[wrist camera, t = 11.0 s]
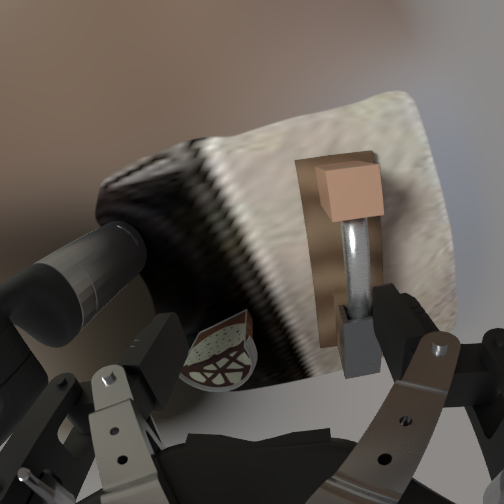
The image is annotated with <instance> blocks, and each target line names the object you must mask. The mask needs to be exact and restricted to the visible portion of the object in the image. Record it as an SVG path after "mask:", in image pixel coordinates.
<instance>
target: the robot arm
mask: <svg viewBox="0 0 504 504" xmlns="http://www.w3.org/2000/svg"><path fill="white" fill-rule="evenodd" d="M146 259H147V251H146V246H145V243H144V240H143V238H142V237H141V235H140V234H139V232H138V231H137V230H136V229H135V228H134V227H132V226H131V225H129V224H127V223H125V222H121V221H114V222H110V223H108V224H106V225H104V226H102V227H100V228H98V229H96V230H94V231H92V232H90V233H88V234H86V235H85V236H82V237H80V238H79V239H77V240H75V241H73V242H71V243H69V244H68V245H66V246H64V247H62V248H60V249H59V250H57V251H55V252H53V253H51V254H50V255H48V256H47V257H45V258H43V259H41V260H40V261H38V262H36V263H35V264H33V265H31V266H30V267H28V268H26V269H25V270H23V271H22V272H20V273H19V274H17V275H15V276H14V277H12V278H11V279H9V280H7V281H6V282H4V283H3V284H1V285H0V446H1V445H2V444H3V443H4V442H5V441H6V440H7V438H8V437H9V436H10V435H11V434H12V433H13V434H12V435H11V437H10V438H9V440H8V441H7V443H6V444H5V446H4V447H3V449H2V450H1V452H0V504H455V503H453V502H452V501H450V500H448V499H446V498H445V497H443V496H441V495H440V494H438V493H436V492H435V491H433V490H431V489H430V488H428V487H427V486H425V485H423V484H422V483H420V482H418V481H417V480H416V479H414V478H412V477H413V475H414V473H415V471H416V469H417V467H418V465H419V463H420V461H421V459H422V457H423V455H424V452H425V450H426V448H427V446H428V444H429V441H430V439H431V436H432V434H433V432H434V429H435V427H436V424H437V422H438V419H439V417H440V414H441V411H442V409H443V408H444V407H462V406H464V407H465V409H466V411H467V414H468V416H469V418H470V421H471V423H472V426H473V429H474V431H475V434H476V436H477V439H478V442H479V444H480V447H481V450H482V453H483V456H484V459H485V461H486V465H487V468H488V471H489V474H490V477H491V481H492V482H491V483H490V484H489V485H488V487H487V488H486V490H485V493H484V496H483V504H504V329H502V328H495V329H491V330H489V331H487V332H486V333H485V334H484V336H483V340H482V343H476V344H460V341H459V340H458V338H457V337H456V336H454V335H452V334H451V333H448V332H443V331H439V329H438V328H437V327H436V325H435V324H434V323H433V321H432V320H431V318H430V317H429V316H428V314H427V313H425V310H424V309H423V308H422V307H421V305H420V304H419V302H418V301H417V300H416V298H414V297H412V296H411V295H409V294H407V293H403V294H400V293H399V292H398V290H397V289H396V288H395V286H394V285H393V284H392V283H389V284H384V285H378V286H374V287H373V327H374V332H375V336H376V338H377V340H378V343H379V345H380V348H381V350H382V352H383V355H384V357H385V360H386V362H387V365H388V367H389V370H390V372H391V375H392V378H393V380H394V385H393V386H392V388H391V390H390V392H389V394H388V396H387V397H386V399H385V401H384V402H383V404H382V406H381V408H380V409H379V411H378V413H377V414H376V416H375V417H374V419H373V421H372V422H371V424H370V425H369V427H368V428H367V430H366V431H365V433H364V434H363V436H362V437H361V439H360V441H359V442H358V443H356V442H354V441H350V440H346V439H340V438H331V434H330V428H326V429H318V430H310V431H301V432H292V433H289V434H285V435H281V436H278V437H274V438H270V439H266V440H261V441H256V442H253V441H247V440H242V439H237V438H232V437H228V436H223V435H211V434H188V436H187V439H186V442H185V443H182V444H178V445H174V446H171V447H168V448H166V447H165V445H164V442H163V440H162V438H161V436H160V434H159V432H158V429H157V427H156V425H155V423H154V420H153V418H152V417H151V415H150V414H151V412H152V410H156V411H164V410H165V407H166V405H167V403H168V400H169V398H170V395H171V393H172V391H173V389H174V386H175V384H176V382H177V380H178V377H179V375H180V373H181V370H182V368H183V366H184V364H185V361H186V359H187V357H188V343H187V340H186V337H185V335H184V332H183V329H182V326H181V324H180V321H179V318H178V316H177V314H176V313H174V312H172V313H160V314H157V315H156V316H155V318H154V319H153V321H152V322H151V324H150V325H148V326H147V327H146V328H144V329H143V330H142V331H141V332H139V334H138V335H137V337H136V338H135V341H133V342H132V344H131V345H130V347H129V348H128V350H127V351H126V352H125V354H124V355H123V357H122V358H121V359H120V361H119V362H118V364H117V365H110V366H106V367H104V368H102V369H100V370H99V371H97V372H96V373H95V374H94V376H93V377H92V380H91V381H88V382H82V383H79V382H78V381H77V379H76V377H75V376H74V375H73V374H72V373H63V374H60V375H58V376H56V377H55V378H53V379H52V380H51V381H50V382H49V384H48V376H47V374H46V372H45V370H44V368H43V367H42V365H41V364H40V363H39V361H38V360H37V359H36V357H35V356H34V354H33V353H32V351H30V349H29V347H28V346H27V344H26V343H25V342H24V340H23V338H22V337H21V335H20V334H19V333H18V331H17V329H16V328H15V326H14V325H13V324H15V325H17V326H18V327H20V328H22V329H23V330H24V331H26V332H27V333H28V334H29V335H31V336H32V337H33V338H35V339H36V340H37V341H39V342H41V343H43V344H44V345H47V346H50V347H55V348H58V347H63V346H65V345H67V344H68V343H69V342H71V341H72V340H73V339H74V338H75V336H76V335H77V334H78V333H79V332H80V331H81V330H82V329H83V328H84V327H85V326H86V325H87V324H88V323H89V322H90V321H91V320H92V318H93V317H94V316H95V315H96V314H97V313H98V312H99V311H100V310H101V309H102V308H103V307H104V306H105V305H107V303H109V302H110V300H112V299H113V298H114V297H115V296H116V295H117V294H118V293H119V292H120V291H121V290H122V289H123V288H124V287H125V286H126V285H127V284H128V283H129V282H130V281H131V280H132V279H133V278H135V277H136V276H137V275H138V274H139V273H140V272H141V270H142V269H143V268H144V266H145V263H146ZM65 417H67V418H68V419H69V421H70V422H71V423H72V424H73V426H74V427H73V428H72V430H71V432H70V434H69V436H68V437H67V439H66V441H65V442H64V444H62V443H61V442H60V441H59V439H58V435H57V432H58V429H59V427H60V425H61V424H62V422H63V420H64V419H65ZM95 457H96V461H97V466H98V470H99V474H100V479H101V482H102V486H103V488H102V489H100V490H98V491H97V492H95V493H93V494H91V495H90V496H88V497H86V498H84V499H83V500H81V501H79V502H77V503H76V499H77V496H78V494H79V492H80V489H81V487H82V485H83V482H84V480H85V478H86V475H87V474H88V471H89V469H90V467H91V465H92V462H93V460H94V458H95Z"/></svg>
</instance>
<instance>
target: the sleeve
mask: <svg viewBox="0 0 504 504" xmlns="http://www.w3.org/2000/svg"><path fill="white" fill-rule="evenodd" d="M338 310H339V327H340V348H341V362H342V366H343V371H344V376H345V378H346V379H347V378H353V377H358V376H363V375H369V374H374V373H379V372H380V366H381V353H382V350H381V348H380V345H379V343H378V340H377V338H376V336H375V332H374V327H373V300H371V316H369V317H364V318H358V319H353V320H348V319H347V316H346V313H345V310H344V307H343V305H340V306H338Z"/></svg>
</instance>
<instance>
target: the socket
mask: <svg viewBox="0 0 504 504" xmlns="http://www.w3.org/2000/svg"><path fill="white" fill-rule="evenodd" d="M315 170H316V176H317V182H318V189H319V195H320V202H321V206H322V207H323V209H324V210H325V212H326V213H327V215H328V216H329V218H330V219H331V221H332V222H338V221H345V220H352V219H358V218H365V217H372V216H379V215H384V205H383V195H382V185H381V177H380V169H379V164H374V163H368V162H362V161H348V162H340V163H333V164H325V165H318V166H315Z"/></svg>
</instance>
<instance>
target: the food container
mask: <svg viewBox="0 0 504 504" xmlns="http://www.w3.org/2000/svg"><path fill="white" fill-rule="evenodd" d="M256 363H257V349H256V346H255V344H254V341H253V321H252V317H251V314H250V312H249V311H248V309H246V310H244V311H242V312H240V313H238V314H236V315H234V316H232V317H230V318H228V319H226V320H224V321H222V322H220V323H218V324H216V325H213V326H211V327H209V328H207V329H205V330H203V331H201V332H199V334H198V336H197V337H196V339H195V341H194V343H193V345H192V347H191V349H190V350H189V352H188V357H187V359H186V361H185V364H184V366H183V368H182V370H181V373H180V375H179V378H181V379H182V380H183V381H185V382H186V383H188V384H190V385H191V386H193V387H196V388H198V389H201V390H206V391H211V392H223V391H229V390H233V389H235V388H237V387H239V386H241V385H242V384H243V383H244V382H245V381H246V380H247V379H248V378H249V377H250V376H251V374H252V372H253V370H254V368H255V366H256Z"/></svg>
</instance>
